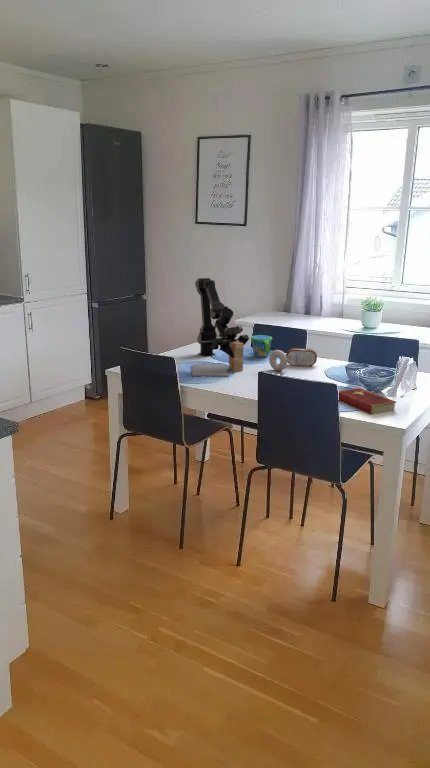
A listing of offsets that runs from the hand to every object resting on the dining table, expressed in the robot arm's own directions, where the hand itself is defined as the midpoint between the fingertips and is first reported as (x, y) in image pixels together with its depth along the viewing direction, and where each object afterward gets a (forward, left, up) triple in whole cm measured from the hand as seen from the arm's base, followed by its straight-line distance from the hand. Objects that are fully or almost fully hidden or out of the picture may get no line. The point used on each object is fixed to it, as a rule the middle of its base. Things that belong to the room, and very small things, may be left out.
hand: (237, 356), depth 286 cm
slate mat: (-7, -11, -7) cm, 15 cm away
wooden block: (-1, 0, -7) cm, 7 cm away
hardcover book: (+70, +4, -7) cm, 70 cm away
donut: (+12, +15, -7) cm, 20 cm away
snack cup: (-14, +29, -7) cm, 33 cm away
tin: (+12, +31, -7) cm, 34 cm away
